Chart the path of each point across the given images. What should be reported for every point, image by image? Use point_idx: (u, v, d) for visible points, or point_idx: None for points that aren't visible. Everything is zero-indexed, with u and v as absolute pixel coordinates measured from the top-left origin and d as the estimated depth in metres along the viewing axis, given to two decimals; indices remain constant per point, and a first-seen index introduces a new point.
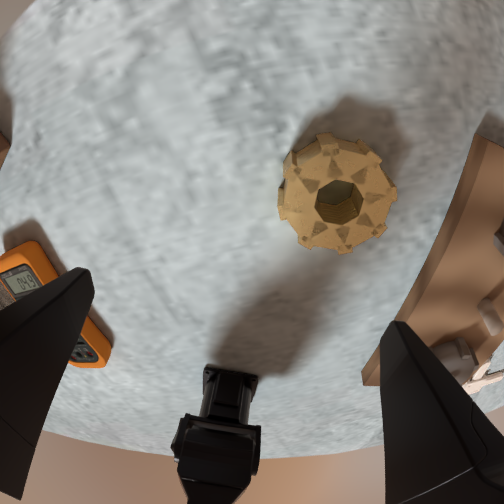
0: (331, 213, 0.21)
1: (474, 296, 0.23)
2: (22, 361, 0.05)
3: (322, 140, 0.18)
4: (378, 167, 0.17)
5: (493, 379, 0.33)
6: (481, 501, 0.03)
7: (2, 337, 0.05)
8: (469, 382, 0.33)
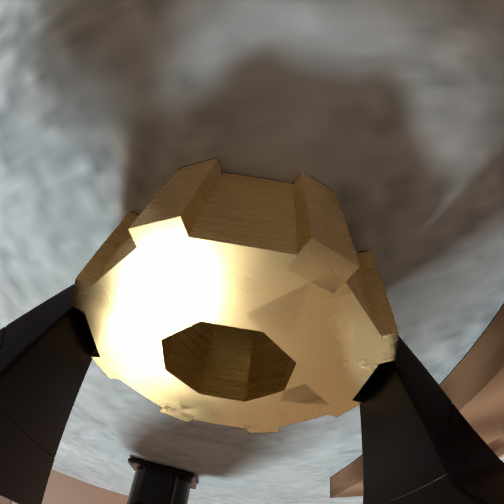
0: (232, 356, 0.09)
1: None
2: (43, 371, 0.05)
3: (161, 197, 0.06)
4: (343, 289, 0.05)
5: (502, 457, 0.21)
6: None
7: (23, 347, 0.05)
8: None
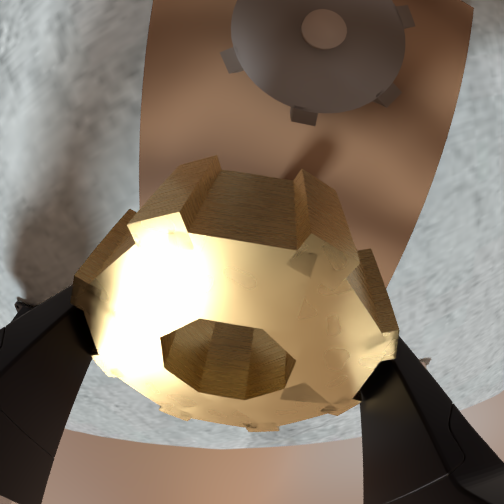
0: (231, 354, 0.09)
1: None
2: (43, 371, 0.05)
3: (160, 193, 0.06)
4: (343, 285, 0.05)
5: None
6: None
7: (23, 347, 0.05)
8: None
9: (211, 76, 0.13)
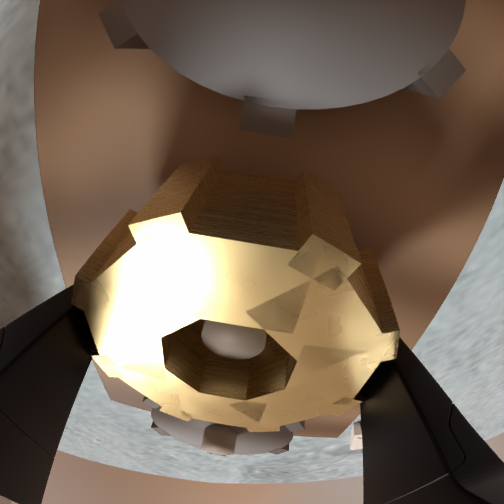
0: None
1: None
2: (43, 370, 0.05)
3: (161, 194, 0.06)
4: (345, 286, 0.05)
5: None
6: None
7: (23, 347, 0.05)
8: (359, 432, 0.20)
9: (119, 62, 0.07)
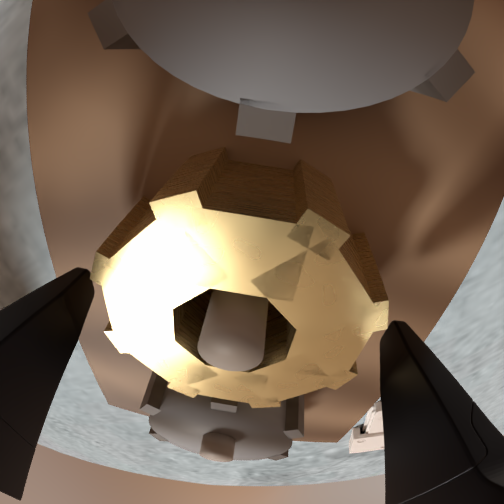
0: None
1: None
2: (22, 361, 0.05)
3: (176, 178, 0.07)
4: (337, 256, 0.06)
5: None
6: (481, 501, 0.03)
7: (2, 337, 0.05)
8: (358, 436, 0.20)
9: (112, 63, 0.07)
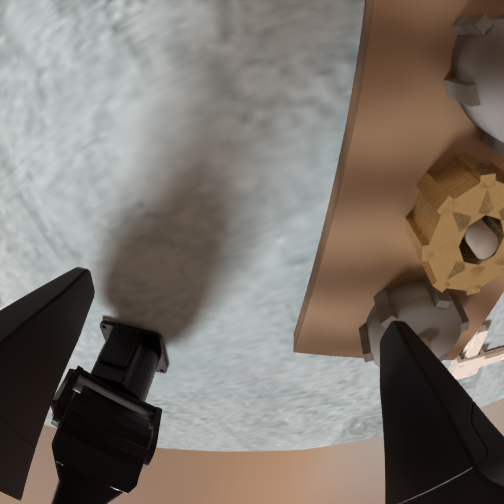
0: (462, 248, 0.15)
1: None
2: (22, 361, 0.05)
3: (473, 166, 0.12)
4: None
5: (495, 357, 0.25)
6: (481, 501, 0.03)
7: (2, 337, 0.05)
8: (460, 360, 0.25)
9: (427, 96, 0.12)
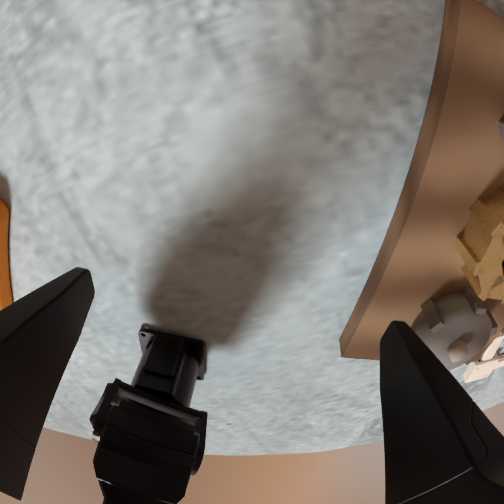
0: None
1: None
2: (22, 361, 0.05)
3: None
4: None
5: None
6: (481, 501, 0.03)
7: (2, 337, 0.05)
8: (478, 363, 0.27)
9: (485, 135, 0.13)
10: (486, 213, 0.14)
